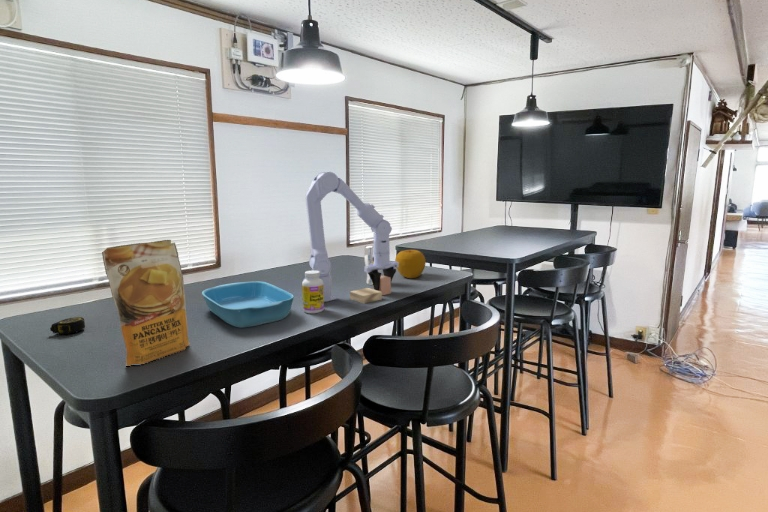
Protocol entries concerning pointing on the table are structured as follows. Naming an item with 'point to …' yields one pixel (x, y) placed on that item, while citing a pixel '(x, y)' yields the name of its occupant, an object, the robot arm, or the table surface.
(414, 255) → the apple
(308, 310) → the supplement bottle
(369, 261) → the beer glass
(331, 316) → the table surface
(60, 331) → the tape measure
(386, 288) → the clay block
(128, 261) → the pancake mix bag
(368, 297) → the oak base
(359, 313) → the table surface
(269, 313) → the casserole dish
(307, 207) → the robot arm
